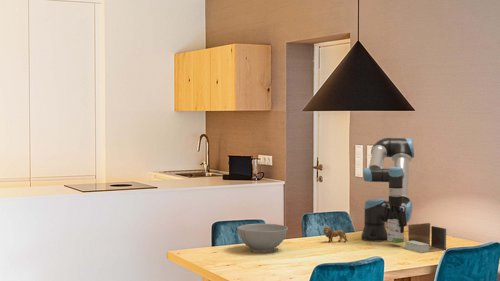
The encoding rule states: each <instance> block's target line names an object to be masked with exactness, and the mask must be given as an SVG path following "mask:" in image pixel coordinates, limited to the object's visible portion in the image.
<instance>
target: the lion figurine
mask: <svg viewBox="0 0 500 281" xmlns="http://www.w3.org/2000/svg"><path fill="white" fill-rule="evenodd" d="M322 233H323V235H324V236H325V237H326V238H328V241H327V242H328V243H330V244H331V243H333V238H337V237H339V240H338V241H337V242H341V241H342V240H344V241H343V243H347V241H349V240H348V239H347V234H346V233H345V231H344V230H342V229H339V230H334V229H332V228H331V227H329V226H324V227H323V232H322Z"/></svg>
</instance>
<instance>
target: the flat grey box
mask: <svg viewBox="0 0 500 281" xmlns="http://www.w3.org/2000/svg"><path fill="white" fill-rule="evenodd" d="M404 247H405V249H404V250H408V251H412V252H416V253H420V254H425V253H424V252H427V253H430V252H429V244H426V243H422V242H417V241H408V240H407V241H404Z"/></svg>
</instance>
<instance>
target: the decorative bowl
mask: <svg viewBox="0 0 500 281" xmlns="http://www.w3.org/2000/svg"><path fill="white" fill-rule="evenodd" d="M236 229H237V233H238V234H239V238H240V239H241V241H242V242H243V243H244V245H245V246H247V247H248V248H250V250H251V251H252V252H254V251H255V252H256V253H271V252H274V251H275V248H278V247H279V246H280V245H281V244H282V243H283V242H284V240H285V238H286V236H287V234H288V230H289V227H288V226H286V225H282V224H276V223H249V224H241V225H238V226H237V228H236ZM270 251H271V252H270Z"/></svg>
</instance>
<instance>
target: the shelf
mask: <svg viewBox="0 0 500 281" xmlns="http://www.w3.org/2000/svg"><path fill="white" fill-rule="evenodd" d="M407 227H408V228H407V229H408V233H407V234H408V238H407V241H417V242H422V243H426V244H429V252H424V253H423V254H425V253H435V252H442V251H443V252H445V250H444V249H439V248H435V247H431V223H430V222H425V223H424V222H423V223H414V224H413V223H412V224H407ZM403 249H404V250H406V249H405V246H404V247H402V250H403Z"/></svg>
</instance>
